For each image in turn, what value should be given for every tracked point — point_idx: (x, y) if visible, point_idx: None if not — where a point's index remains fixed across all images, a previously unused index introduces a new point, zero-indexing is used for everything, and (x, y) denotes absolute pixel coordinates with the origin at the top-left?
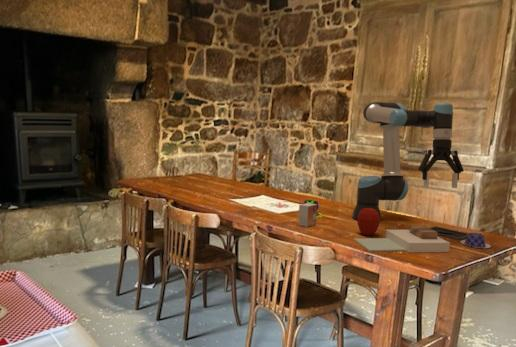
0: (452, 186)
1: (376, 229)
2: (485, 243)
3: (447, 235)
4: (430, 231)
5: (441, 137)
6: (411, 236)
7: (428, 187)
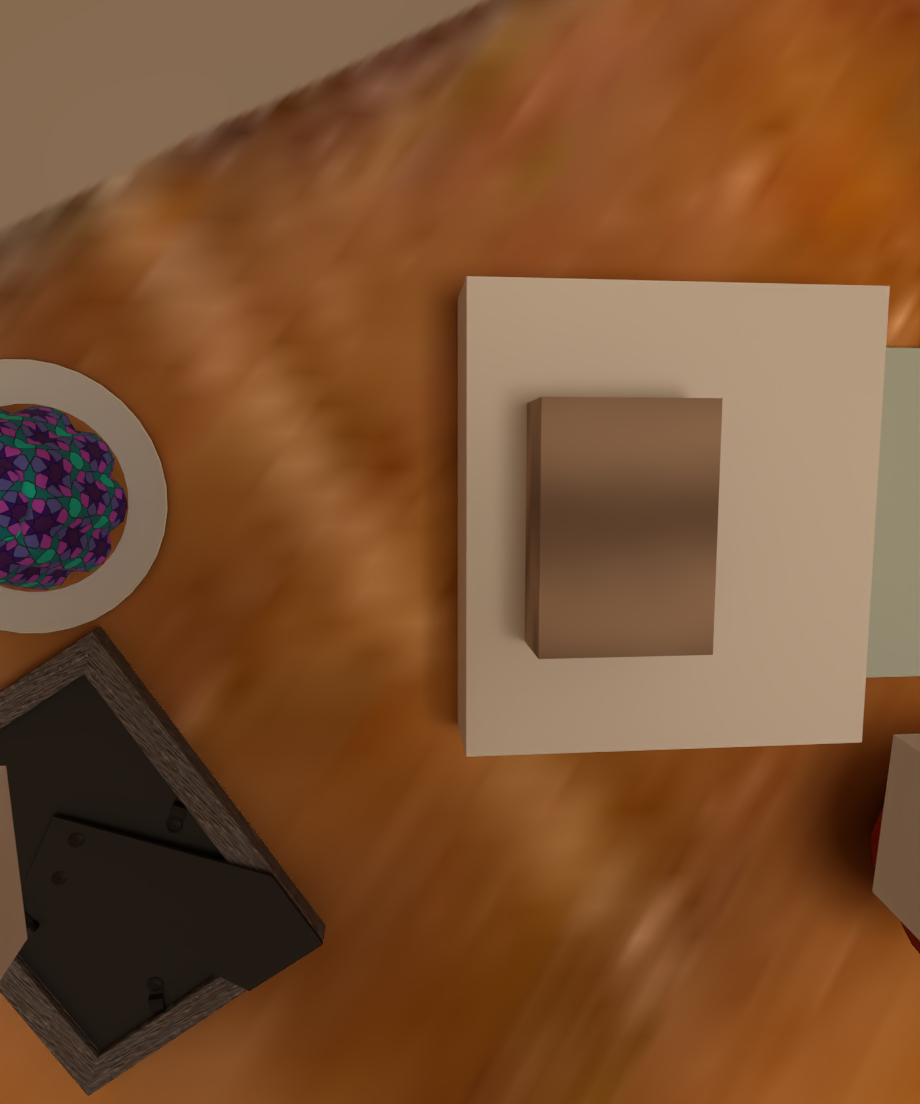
0: (2, 934)
1: None
2: None
3: (170, 749)
4: (609, 429)
5: None
6: (742, 501)
7: (905, 734)
